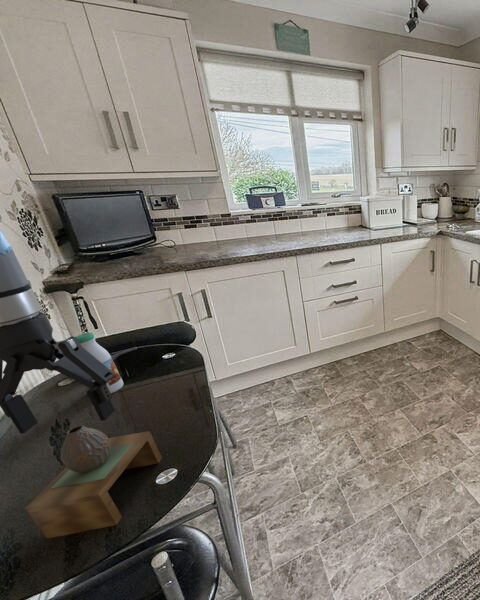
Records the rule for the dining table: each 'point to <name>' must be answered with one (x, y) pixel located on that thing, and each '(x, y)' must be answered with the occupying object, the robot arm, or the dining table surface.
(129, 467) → the shelf
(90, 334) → the milk bottle
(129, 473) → the dining table surface
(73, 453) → the vase
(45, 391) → the dining table surface
